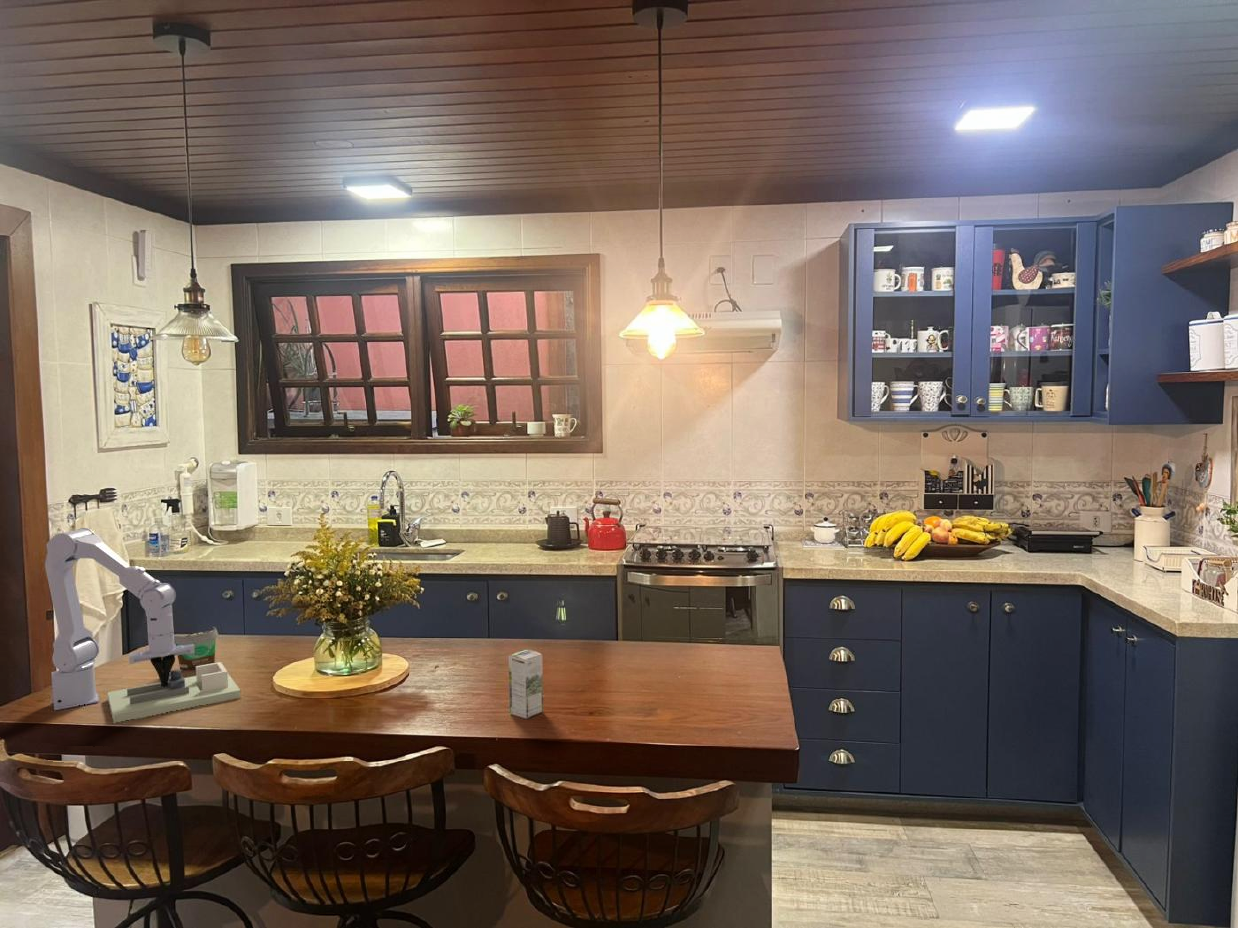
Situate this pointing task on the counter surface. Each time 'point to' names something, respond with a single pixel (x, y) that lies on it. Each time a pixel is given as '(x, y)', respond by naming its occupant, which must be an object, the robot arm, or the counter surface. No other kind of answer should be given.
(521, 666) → the syrup box
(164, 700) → the board
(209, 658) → the food container
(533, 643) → the counter surface
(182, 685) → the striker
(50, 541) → the robot arm
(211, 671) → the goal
